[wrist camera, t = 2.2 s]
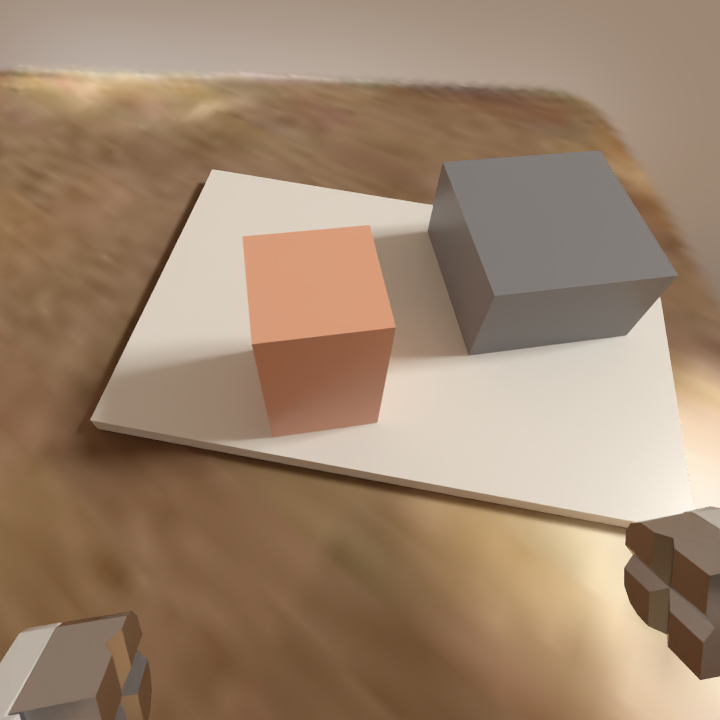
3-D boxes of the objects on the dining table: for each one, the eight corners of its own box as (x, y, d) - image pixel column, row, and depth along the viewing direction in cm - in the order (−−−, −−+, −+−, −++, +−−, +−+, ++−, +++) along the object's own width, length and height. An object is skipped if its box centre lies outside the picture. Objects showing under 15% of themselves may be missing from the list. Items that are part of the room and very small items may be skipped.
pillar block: (272, 437, 25) (251, 344, 18) (263, 348, 27) (242, 236, 20) (377, 422, 25) (395, 327, 18) (359, 336, 28) (369, 225, 21)
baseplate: (97, 429, 25) (89, 420, 25) (215, 182, 35) (212, 169, 34) (684, 538, 24) (698, 533, 23) (643, 251, 34) (651, 240, 33)
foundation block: (468, 355, 28) (494, 296, 23) (427, 231, 32) (442, 162, 28) (626, 335, 29) (678, 275, 25) (565, 218, 33) (599, 150, 29)
